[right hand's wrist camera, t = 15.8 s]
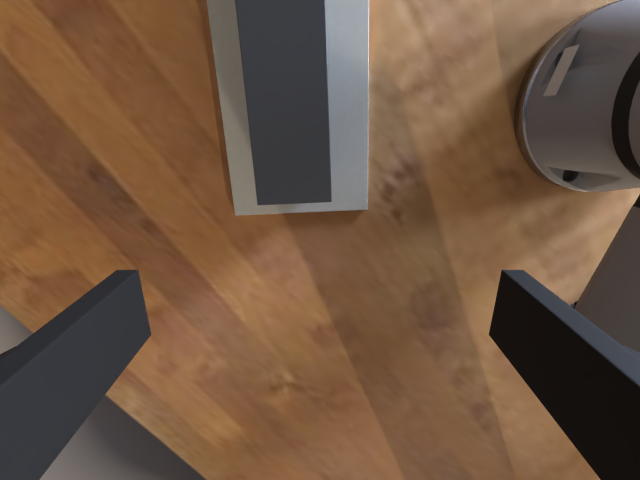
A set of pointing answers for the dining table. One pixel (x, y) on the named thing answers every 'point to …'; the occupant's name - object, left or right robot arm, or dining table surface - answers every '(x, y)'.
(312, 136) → the beam
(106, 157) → the dining table surface
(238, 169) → the mat
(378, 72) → the dining table surface
